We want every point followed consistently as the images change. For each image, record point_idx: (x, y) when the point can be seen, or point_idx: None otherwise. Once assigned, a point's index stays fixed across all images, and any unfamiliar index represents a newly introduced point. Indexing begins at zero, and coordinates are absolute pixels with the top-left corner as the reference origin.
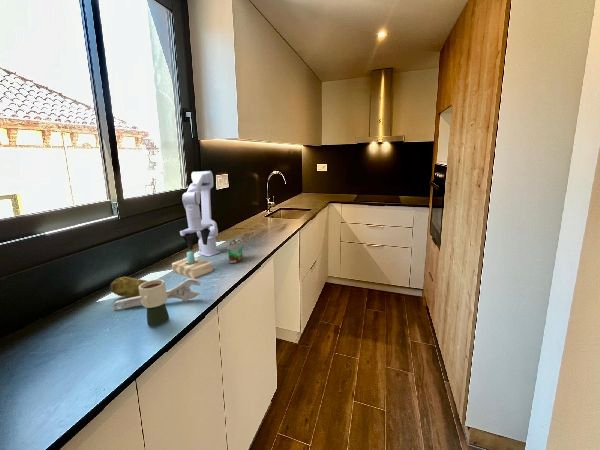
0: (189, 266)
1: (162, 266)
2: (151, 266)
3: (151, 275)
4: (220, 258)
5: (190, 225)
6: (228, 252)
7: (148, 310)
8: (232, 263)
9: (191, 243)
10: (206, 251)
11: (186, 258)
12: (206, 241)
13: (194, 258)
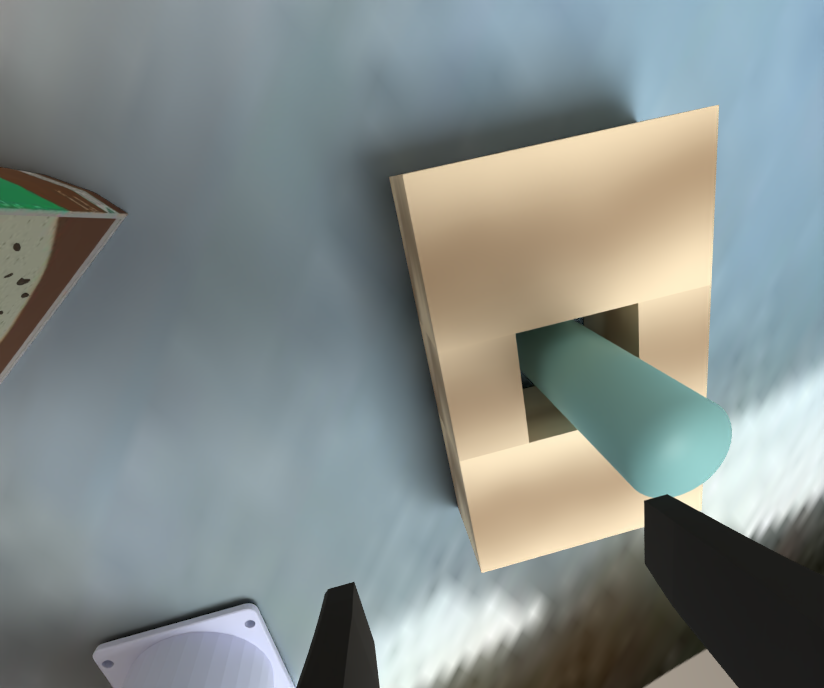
0: (663, 265)
1: (630, 613)
2: (672, 655)
3: (770, 489)
4: (163, 486)
5: None
6: (12, 203)
7: None
8: (87, 190)
9: (782, 579)
10: (248, 682)
11: (540, 552)
12: (332, 648)
13: (575, 380)
